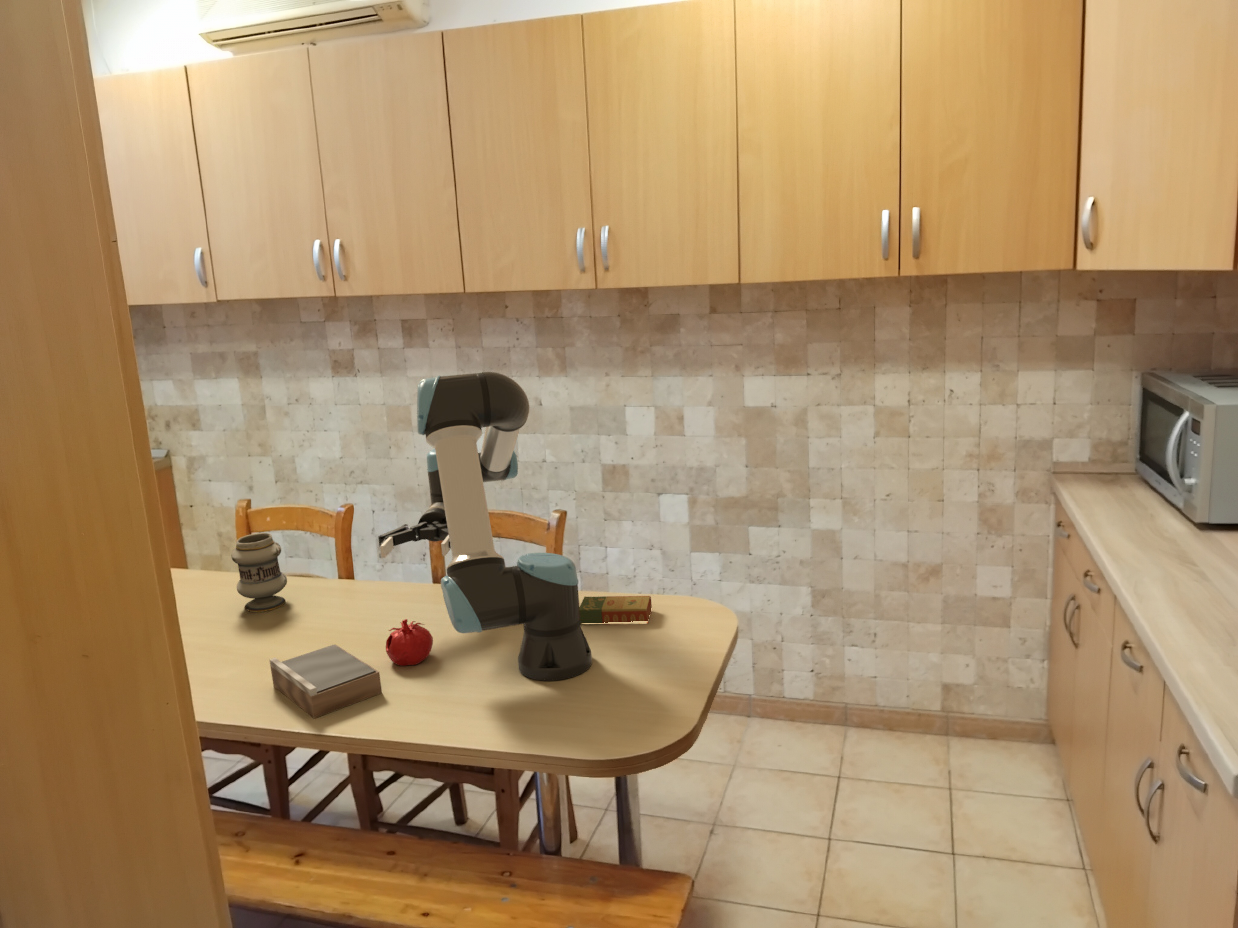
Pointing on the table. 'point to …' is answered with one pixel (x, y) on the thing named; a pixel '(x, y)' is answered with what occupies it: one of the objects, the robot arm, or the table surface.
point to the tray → (325, 680)
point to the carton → (615, 609)
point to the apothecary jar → (259, 571)
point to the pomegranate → (409, 644)
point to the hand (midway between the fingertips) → (412, 550)
